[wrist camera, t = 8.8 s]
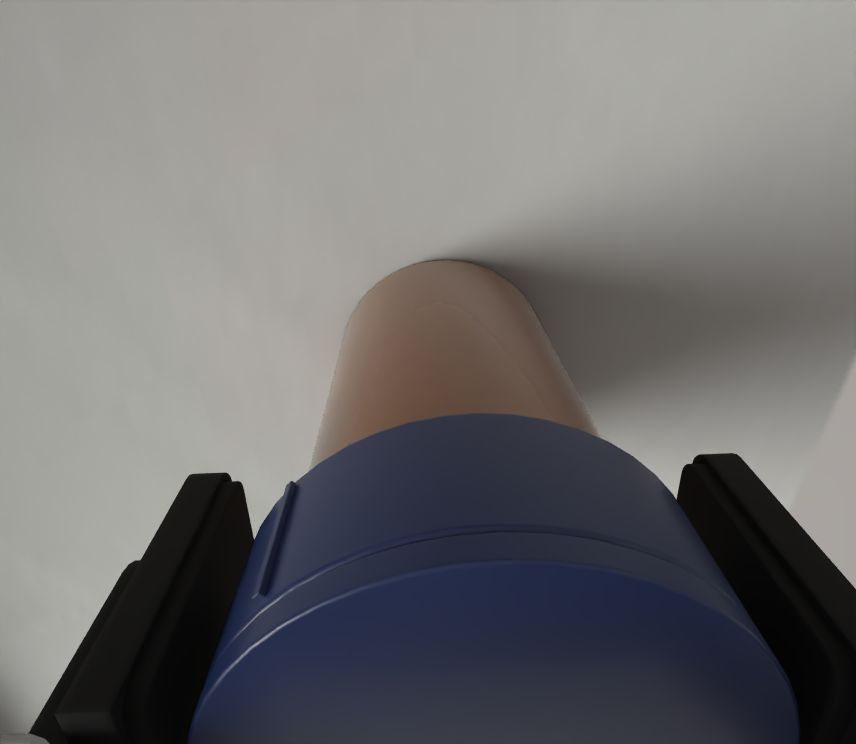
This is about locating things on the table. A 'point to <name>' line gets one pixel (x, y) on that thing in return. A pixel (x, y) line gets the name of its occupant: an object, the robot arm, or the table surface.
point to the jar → (443, 357)
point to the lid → (487, 603)
